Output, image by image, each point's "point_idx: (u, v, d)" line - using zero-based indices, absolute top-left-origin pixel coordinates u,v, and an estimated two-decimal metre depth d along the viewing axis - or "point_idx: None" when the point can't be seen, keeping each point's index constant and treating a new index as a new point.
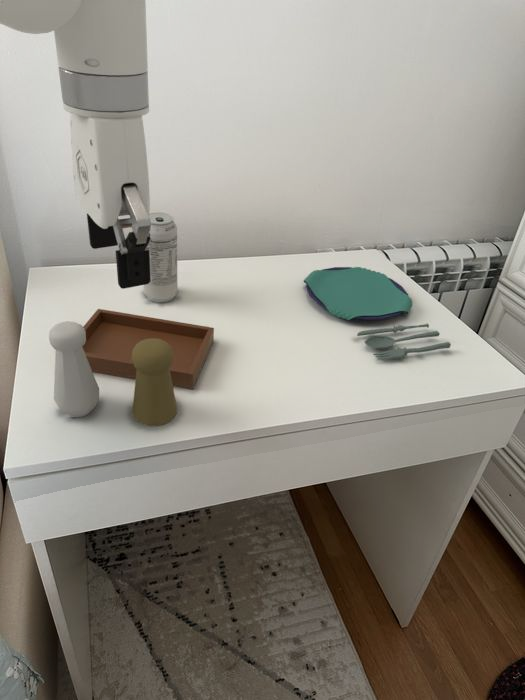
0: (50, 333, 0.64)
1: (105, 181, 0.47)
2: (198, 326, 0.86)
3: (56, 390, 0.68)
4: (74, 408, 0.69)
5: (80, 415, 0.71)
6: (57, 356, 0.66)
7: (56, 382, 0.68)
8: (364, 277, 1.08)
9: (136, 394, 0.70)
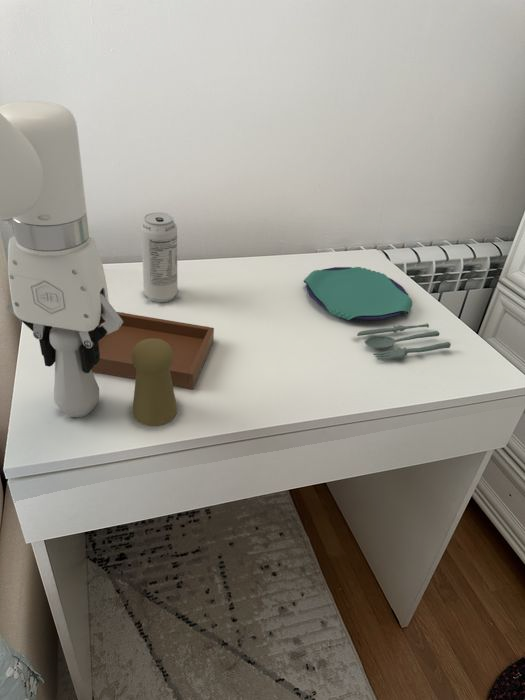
0: (50, 333, 0.64)
1: (92, 295, 0.59)
2: (198, 326, 0.86)
3: (57, 390, 0.68)
4: (74, 408, 0.69)
5: (80, 415, 0.71)
6: (57, 356, 0.66)
7: (56, 382, 0.68)
8: (364, 277, 1.08)
9: (136, 394, 0.70)
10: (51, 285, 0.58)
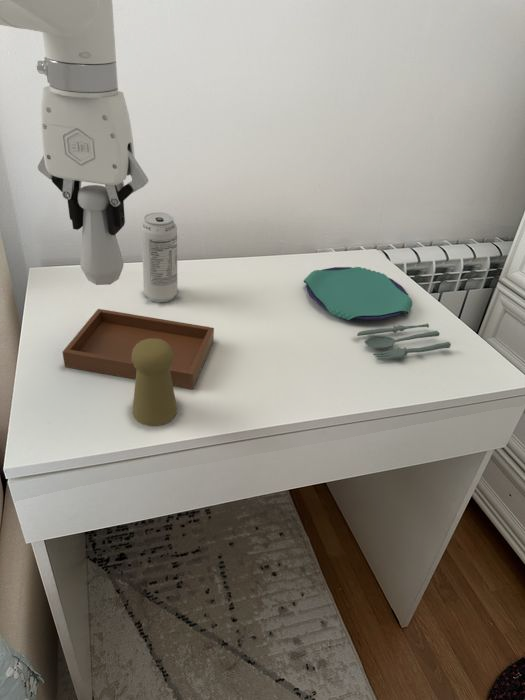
0: (79, 192, 0.68)
1: (121, 144, 0.62)
2: (198, 326, 0.86)
3: (83, 255, 0.72)
4: (100, 273, 0.72)
5: (105, 283, 0.74)
6: (85, 218, 0.69)
7: (83, 246, 0.71)
8: (364, 277, 1.08)
9: (136, 394, 0.70)
10: (82, 133, 0.62)
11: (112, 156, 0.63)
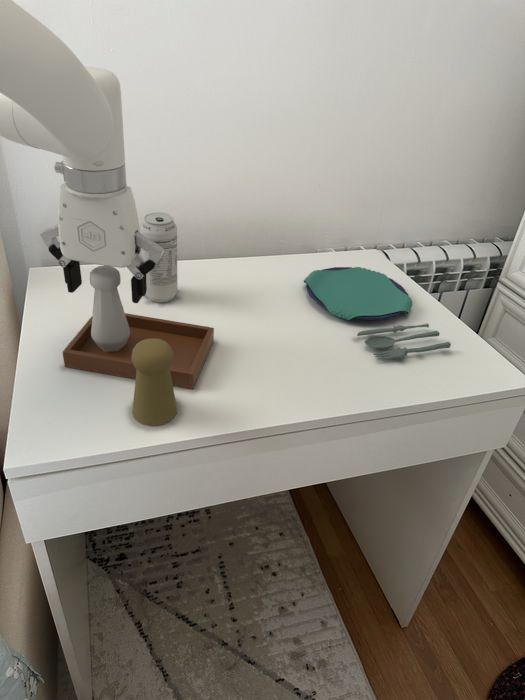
0: (91, 274, 0.75)
1: (129, 234, 0.70)
2: (198, 326, 0.86)
3: (94, 327, 0.79)
4: (109, 343, 0.80)
5: (113, 350, 0.82)
6: (96, 295, 0.77)
7: (94, 319, 0.79)
8: (364, 277, 1.08)
9: (136, 394, 0.70)
10: (95, 225, 0.69)
11: (121, 244, 0.70)
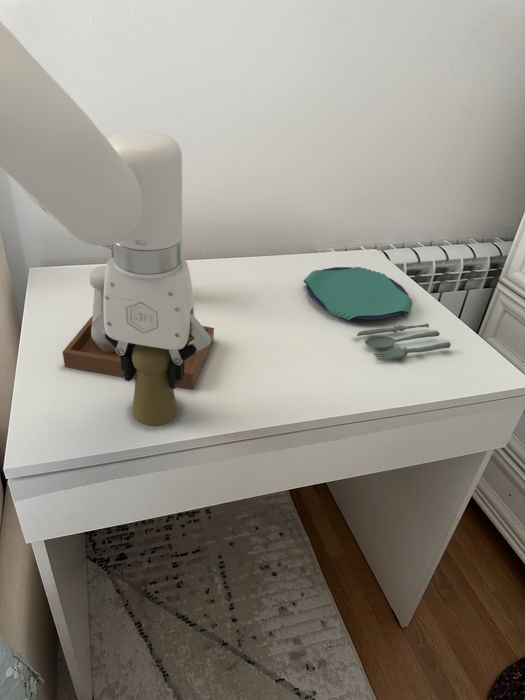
0: (91, 274, 0.75)
1: (185, 315, 0.61)
2: None
3: None
4: (109, 343, 0.80)
5: (113, 350, 0.82)
6: (96, 295, 0.77)
7: (94, 319, 0.79)
8: (364, 277, 1.08)
9: (136, 394, 0.70)
10: (146, 306, 0.60)
11: (175, 326, 0.61)
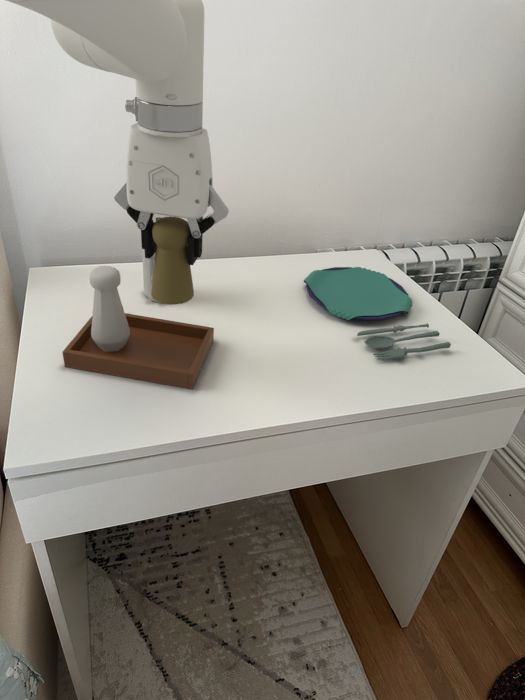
0: (91, 274, 0.75)
1: (205, 180, 0.64)
2: (198, 326, 0.86)
3: (94, 327, 0.79)
4: (109, 343, 0.80)
5: (113, 350, 0.82)
6: (96, 295, 0.77)
7: (94, 319, 0.79)
8: (364, 277, 1.08)
9: (155, 272, 0.72)
10: (168, 170, 0.63)
11: (196, 192, 0.64)
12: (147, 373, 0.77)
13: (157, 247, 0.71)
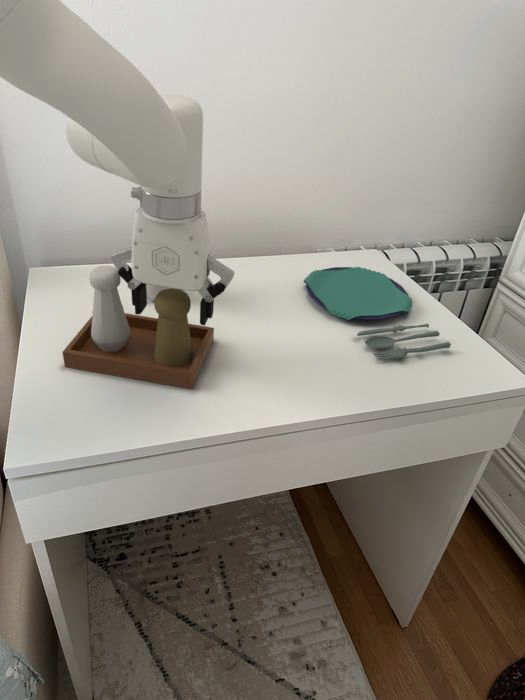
0: (91, 274, 0.75)
1: (203, 259, 0.70)
2: (198, 326, 0.86)
3: (94, 327, 0.79)
4: (109, 343, 0.80)
5: (113, 350, 0.82)
6: (96, 295, 0.77)
7: (94, 319, 0.79)
8: (364, 277, 1.08)
9: (158, 338, 0.79)
10: (169, 250, 0.69)
11: (195, 269, 0.70)
12: (147, 373, 0.77)
13: (159, 316, 0.77)
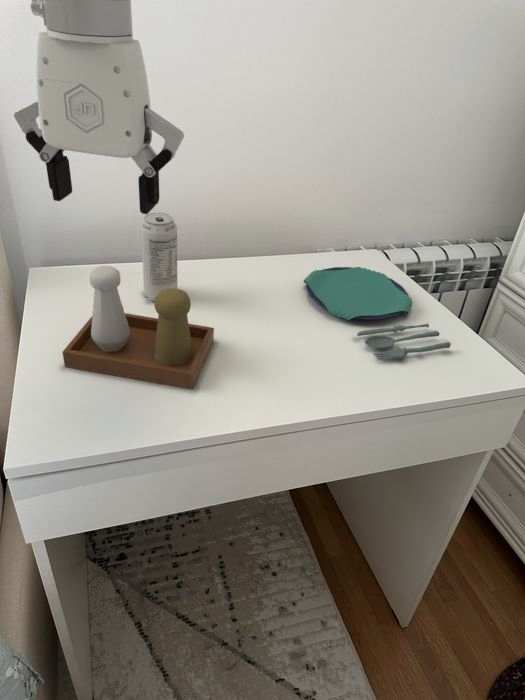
0: (91, 274, 0.75)
1: (136, 105, 0.50)
2: (198, 326, 0.86)
3: (94, 327, 0.79)
4: (109, 343, 0.80)
5: (113, 350, 0.82)
6: (96, 295, 0.77)
7: (94, 319, 0.79)
8: (364, 277, 1.08)
9: (158, 338, 0.79)
10: (88, 90, 0.49)
11: (125, 120, 0.50)
12: (147, 373, 0.77)
13: (159, 316, 0.77)
